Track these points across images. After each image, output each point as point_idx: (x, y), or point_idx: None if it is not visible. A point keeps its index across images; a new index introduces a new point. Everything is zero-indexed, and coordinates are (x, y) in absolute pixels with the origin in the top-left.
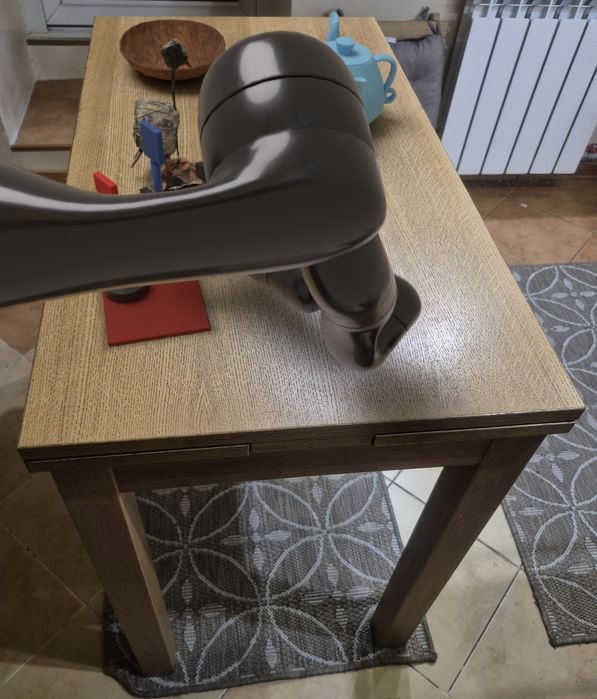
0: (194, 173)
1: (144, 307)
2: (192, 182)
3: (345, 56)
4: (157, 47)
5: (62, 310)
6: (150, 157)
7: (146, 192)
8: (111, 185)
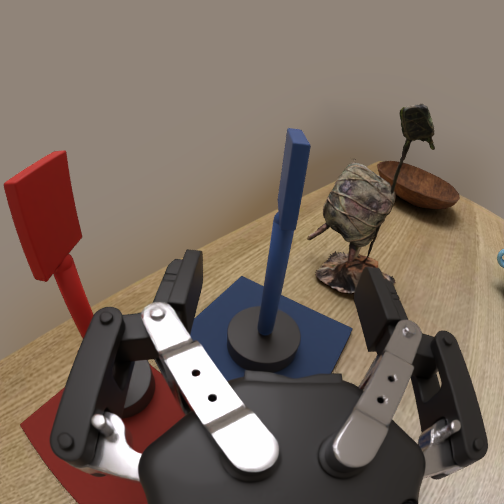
0: None
1: None
2: None
3: None
4: (407, 181)
5: (54, 342)
6: (278, 207)
7: (181, 263)
8: (10, 180)
